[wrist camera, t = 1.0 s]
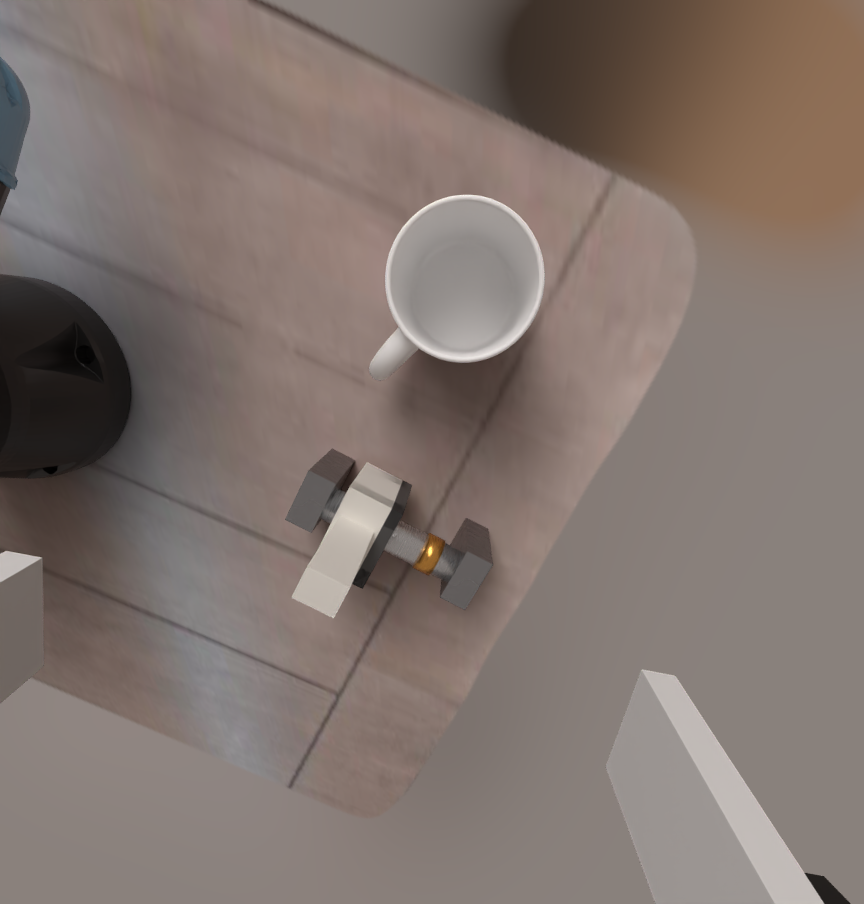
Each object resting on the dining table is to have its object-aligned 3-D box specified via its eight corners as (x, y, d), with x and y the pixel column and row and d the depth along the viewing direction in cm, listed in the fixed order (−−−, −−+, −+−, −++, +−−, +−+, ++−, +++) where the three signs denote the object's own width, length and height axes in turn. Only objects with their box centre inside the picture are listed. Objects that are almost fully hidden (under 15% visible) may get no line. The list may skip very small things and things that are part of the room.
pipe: (311, 490, 39) (284, 520, 33) (332, 448, 38) (307, 470, 32) (464, 568, 40) (465, 611, 34) (487, 528, 39) (493, 565, 33)
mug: (420, 410, 37) (406, 438, 27) (346, 327, 36) (302, 325, 26) (544, 300, 35) (578, 287, 25) (468, 207, 34) (472, 155, 24)
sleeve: (333, 527, 38) (270, 625, 25) (366, 461, 36) (318, 530, 24) (377, 549, 38) (336, 657, 25) (412, 485, 37) (387, 565, 24)
